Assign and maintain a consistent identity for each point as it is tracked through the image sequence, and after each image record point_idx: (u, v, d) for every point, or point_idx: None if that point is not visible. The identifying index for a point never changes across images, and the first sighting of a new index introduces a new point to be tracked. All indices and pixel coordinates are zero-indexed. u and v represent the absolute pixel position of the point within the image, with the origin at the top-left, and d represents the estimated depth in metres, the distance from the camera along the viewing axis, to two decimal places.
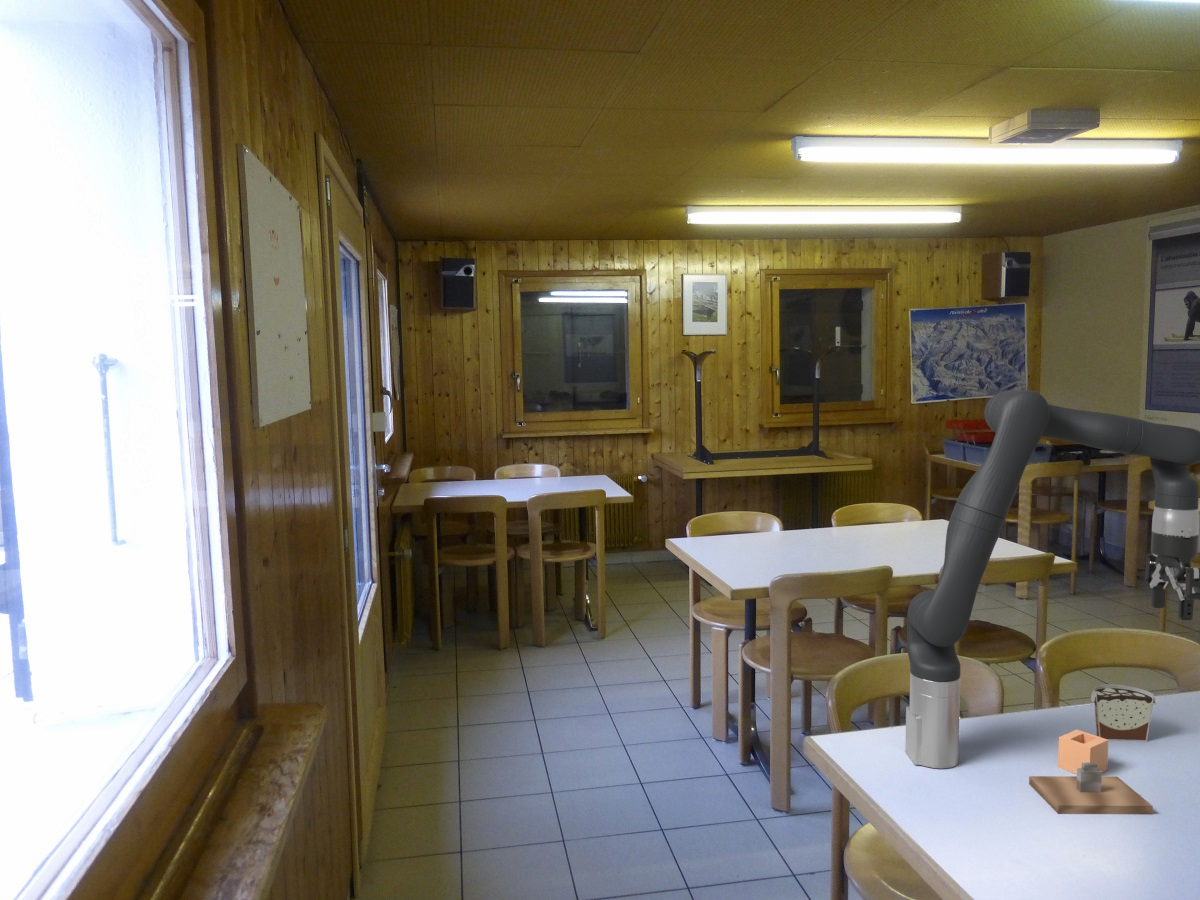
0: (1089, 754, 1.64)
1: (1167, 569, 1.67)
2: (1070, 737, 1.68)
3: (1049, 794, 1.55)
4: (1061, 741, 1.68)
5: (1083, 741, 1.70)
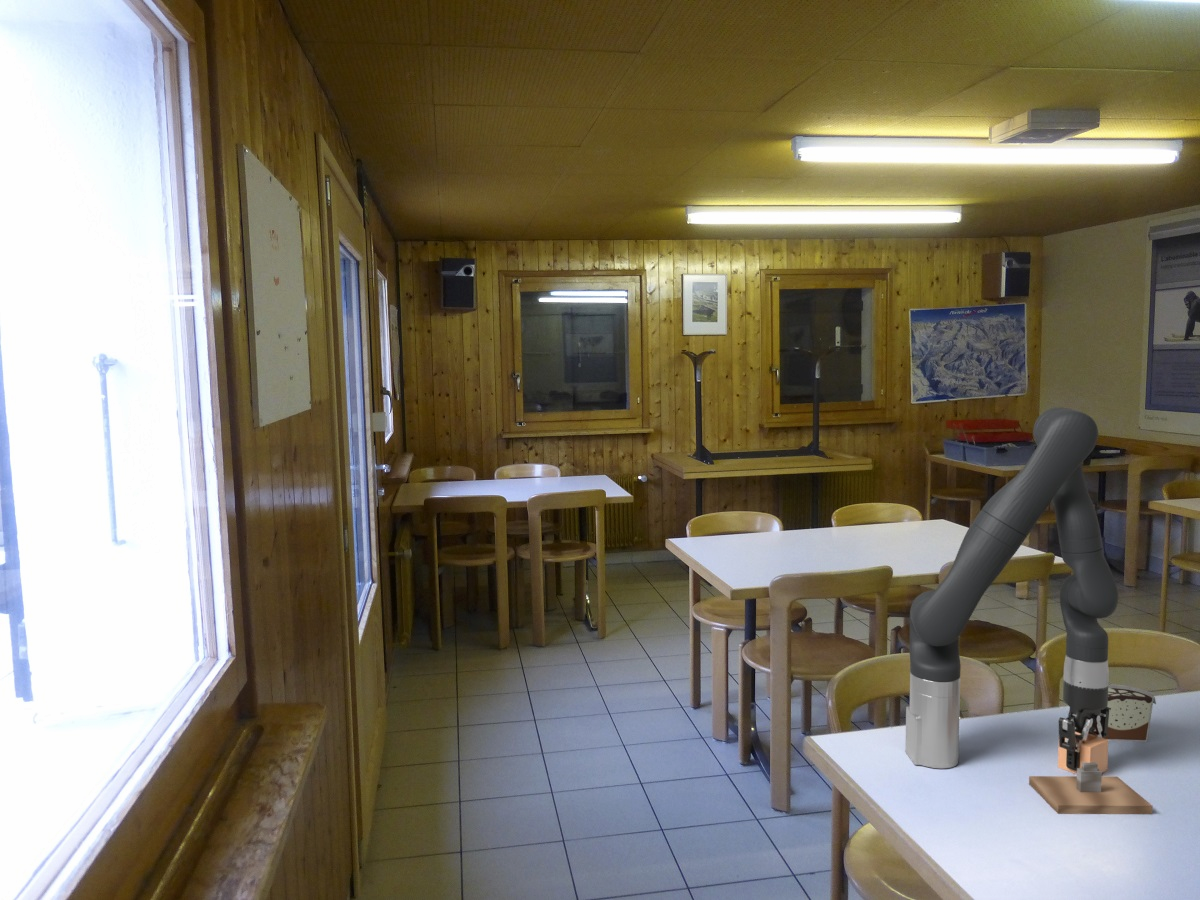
0: (1089, 754, 1.64)
1: (1098, 718, 1.67)
2: None
3: (1049, 794, 1.55)
4: None
5: None
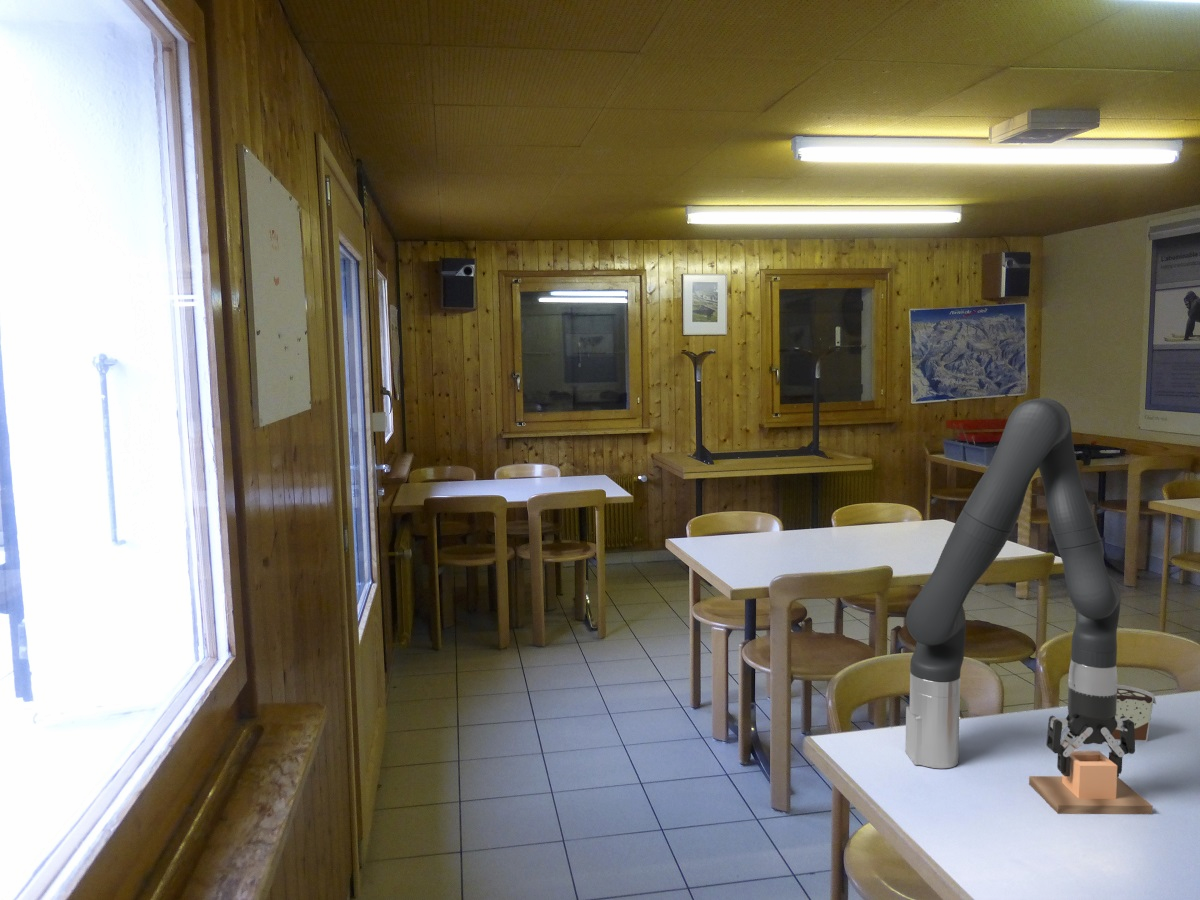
0: (1079, 772, 1.53)
1: (1105, 730, 1.53)
2: (1075, 754, 1.58)
3: (1049, 794, 1.55)
4: None
5: None
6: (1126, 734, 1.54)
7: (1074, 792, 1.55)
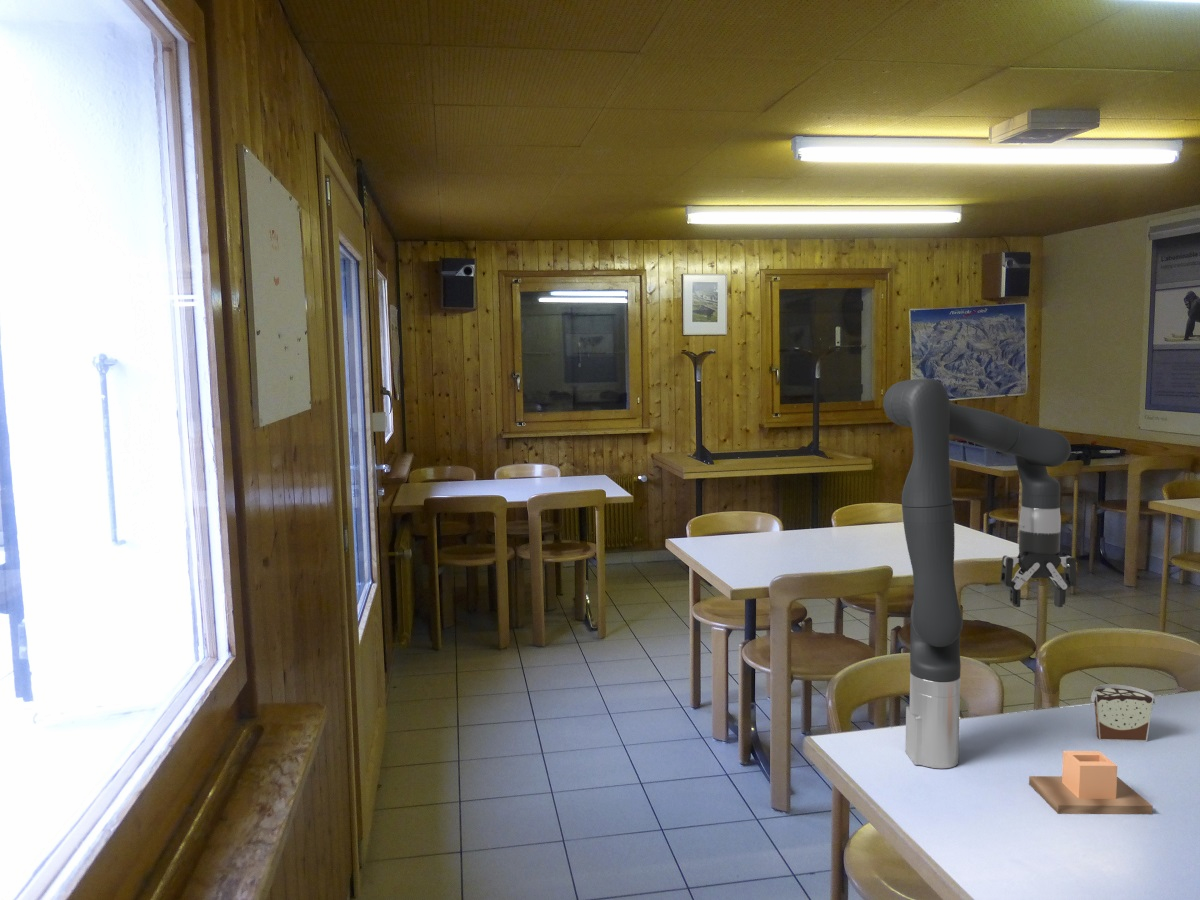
0: (1079, 772, 1.53)
1: (1050, 565, 1.77)
2: (1075, 754, 1.58)
3: (1049, 794, 1.55)
4: (1064, 756, 1.59)
5: None
6: (1069, 569, 1.78)
7: (1074, 792, 1.55)
